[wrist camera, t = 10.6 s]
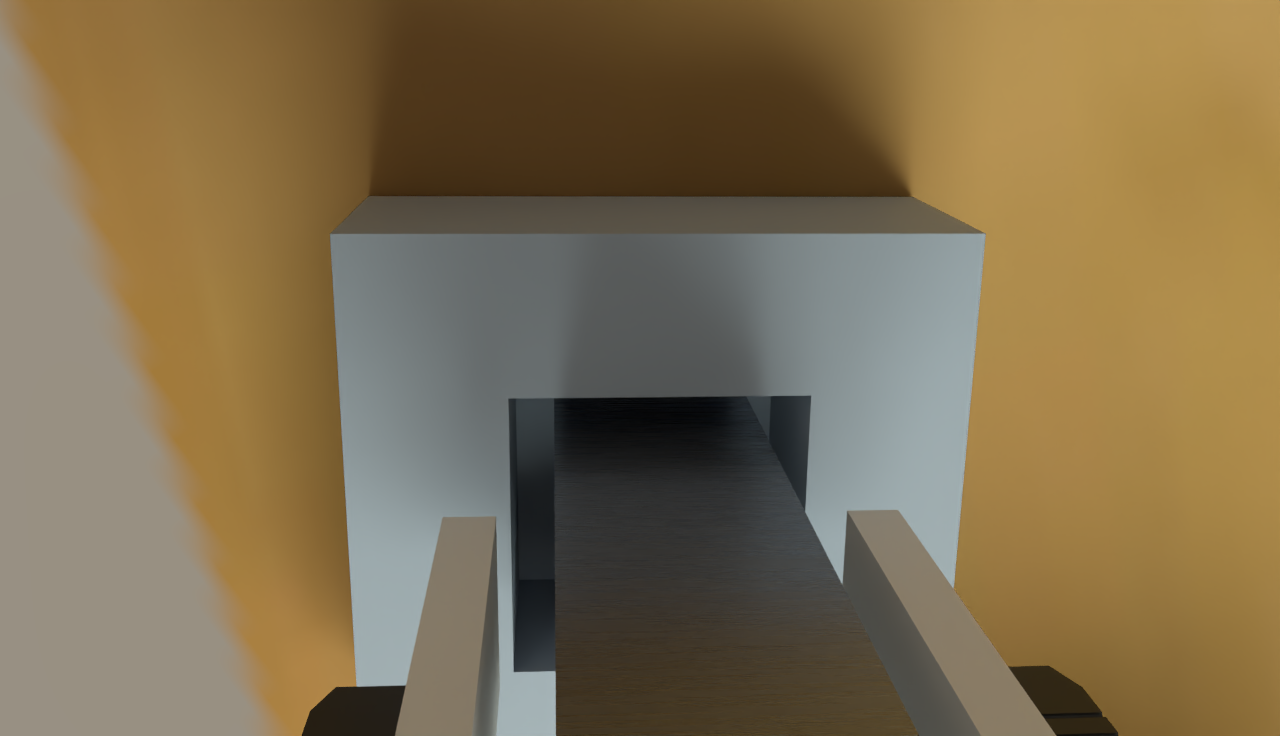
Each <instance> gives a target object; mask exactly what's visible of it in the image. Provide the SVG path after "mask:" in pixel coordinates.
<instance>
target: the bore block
mask: <svg viewBox="0 0 1280 736" xmlns="http://www.w3.org/2000/svg"><path fill="white" fill-rule="evenodd" d="M985 235H986V234H985V233H983V232H981V231H979V230H977V229H975V228H973V227H971V226H969V225H967V224H966V223H964V222H962V221H960V220H958V219H956V218H954V217H952V216H950V215H948V214H946V213H944V212H942V211H940V210H938V209H936V208H934V207H932V206H930V205H928V204H926V203H924V202H922V201H920V200H918V199H916V198H914V197H670V196H368V197H367V198H366V199H365V200H364V201H363V202H362V203H361V204H360V205H359V206H358V207H357V208H356V209H355V210H354V211H353V212H352V213H351V214H350V215H349V216H348V217H347V218H346V219H345V220H344V221H343V222H342V223H341V224H340V225H339V226H338V227H337V228H336V229H335V230H333V231H332V232H331V233H330V243H331V260H332V276H333V293H334V310H335V327H336V344H337V361H338V378H339V395H340V412H341V429H342V446H343V463H344V480H345V497H346V514H347V530H348V547H349V564H350V581H351V598H352V615H353V632H354V649H355V666H356V683H357V687H362V686H401V685H406V683H407V678H408V674H409V669H410V664H411V660H412V655H413V651H414V646H415V641H416V637H417V632H418V628H419V623H420V619H421V614H422V609H423V605H424V600H425V596H426V591H427V586H428V582H429V577H430V573H431V568H432V564H433V559H434V554H435V550H436V545H437V541H438V536H439V531H440V527H441V522H442V518H443V517H487V516H496V534H497V578H498V622H499V666H500V692H499V705H498V718H497V730H496V736H556V666H555V477H554V398H616V397H719V396H746V397H747V399H748V401H749V403H750V405H751V407H752V409H753V411H754V412H755V414H756V416H757V418H758V420H759V422H760V424H761V426H762V428H763V430H764V432H765V434H766V436H767V438H768V440H769V442H770V444H771V446H772V448H773V450H774V452H775V454H776V456H777V458H778V460H779V462H780V463H781V465H782V467H783V469H784V471H785V473H786V475H787V477H788V479H789V481H790V483H791V485H792V487H793V489H794V491H795V493H796V495H797V497H798V499H799V501H800V503H801V505H802V507H803V509H804V511H805V513H806V515H807V516H808V518H809V520H810V522H811V524H812V526H813V528H814V530H815V532H816V534H817V536H818V538H819V540H820V542H821V544H822V546H823V548H824V550H825V552H826V554H827V556H828V558H829V560H830V562H831V564H832V566H833V567H834V569H835V571H836V573H837V575H838V577H839V579H840V581H841V583H842V584H843V568H844V552H845V536H846V520H847V511H853V510H899V512H900V513H901V515H902V516H903V517H904V519H905V520H906V522H907V523H908V525H909V526H910V527H911V529H912V530H913V532H914V533H915V535H916V536H917V537H918V539H919V540H920V542H921V543H922V545H923V546H924V547H925V549H926V550H927V552H928V553H929V555H930V556H931V557H932V559H933V560H934V562H935V563H936V565H937V566H938V567H939V569H940V570H941V572H942V573H943V575H944V576H945V577H946V579H947V580H948V582H949V583H950V585H951V586H952V587H953V589H954V579H955V568H956V557H957V546H958V535H959V524H960V512H961V501H962V490H963V479H964V468H965V457H966V446H967V435H968V424H969V413H970V402H971V390H972V379H973V368H974V357H975V346H976V335H977V324H978V313H979V302H980V291H981V279H982V268H983V257H984V246H985Z"/></svg>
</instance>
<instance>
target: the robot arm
mask: <svg viewBox="0 0 1280 736" xmlns="http://www.w3.org/2000/svg"><path fill="white" fill-rule="evenodd" d="M842 585H843V587H844V589H845V591H846V593H847V595H848V597H849V599H850V601H851V603H852V605H853V607H854V609H855V611H856V613H857V615H858V617H859V618H860V620H861V622H862V624H863V626H864V628H865V630H866V632H867V634H868V636H869V638H870V640H871V642H872V644H873V646H874V648H875V650H876V652H877V654H878V656H879V658H880V660H881V662H882V664H883V666H884V668H885V669H886V671H887V673H888V675H889V677H890V679H891V681H892V683H893V685H894V687H895V689H896V691H897V693H898V695H899V697H900V699H901V701H902V703H903V705H904V707H905V709H906V711H907V713H908V715H909V717H910V719H911V720H912V722H913V724H914V726H915V728H916V730H917V732H918V734H919V736H1118V732H1117V731H1116V729H1115V728H1114V727H1113V726H1112V724H1111V723H1110V722H1109V721H1108V719H1107V718H1106V717H1102V712H1101V710H1100V709H1099V708H1098V707H1097V705H1096V704H1095V703H1094V702H1093V700H1092V699H1091V698H1090V697H1089V695H1088V694H1087V693H1086V691H1085V690H1084V689H1083V688H1082V687H1081V686H1079V685H1078V684H1076V683H1075V682H1073V681H1072V680H1070V679H1069V678H1067V677H1065V676H1064V675H1062V674H1061V673H1059V672H1058V671H1056V670H1054V669H1053V668H1051V667H1050V666H1023V667H1008V666H1007V665H1006V663H1005V662H1004V660H1003V659H1002V657H1001V656H1000V655H999V653H998V652H997V650H996V649H995V647H994V646H993V645H992V643H991V642H990V640H989V639H988V637H987V636H986V635H985V633H984V632H983V630H982V629H981V627H980V626H979V625H978V623H977V622H976V620H975V619H974V617H973V616H972V615H971V613H970V612H969V610H968V609H967V607H966V606H965V605H964V603H963V602H962V600H961V599H960V597H959V596H958V595H957V593H956V592H955V590H954V589H953V587H952V586H951V585H950V583H949V582H948V580H947V579H946V577H945V576H944V575H943V573H942V572H941V570H940V569H939V567H938V566H937V565H936V563H935V562H934V560H933V559H932V557H931V556H930V555H929V553H928V552H927V550H926V549H925V547H924V546H923V545H922V543H921V542H920V540H919V539H918V537H917V536H916V535H915V533H914V532H913V530H912V529H911V527H910V526H909V525H908V523H907V522H906V520H905V519H904V517H903V516H902V515H901V513H900V512H899V510H853V511H847V520H846V536H845V552H844V568H843V584H842ZM499 692H500V666H499V622H498V578H497V534H496V516H487V517H443V518H442V522H441V527H440V531H439V536H438V541H437V545H436V550H435V554H434V559H433V564H432V568H431V573H430V577H429V582H428V586H427V591H426V596H425V600H424V605H423V609H422V614H421V619H420V623H419V628H418V632H417V637H416V641H415V646H414V651H413V655H412V660H411V664H410V669H409V674H408V678H407V683H406V685H401V686H362V687H336V688H335V689H333V690H332V691H331V692H330V693H329V694H328V695H327V696H326V697H325V698H324V699H323V700H322V701H321V702H320V703H318V704H317V705H316V706H315V707H314V708H313V709H312V710H311V711H310V713H309V716H308V719H307V722H306V725H305V727H304V730H303V733H302V736H496V730H497V718H498V705H499Z"/></svg>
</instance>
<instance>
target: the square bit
mask: <svg viewBox="0 0 1280 736" xmlns="http://www.w3.org/2000/svg"><path fill="white" fill-rule="evenodd" d="M554 477H555V666H556V736H919V734H918V732H917V730H916V728H915V726H914V724H913V722H912V720H911V719H910V717H909V715H908V713H907V711H906V709H905V707H904V705H903V703H902V701H901V699H900V697H899V695H898V693H897V691H896V689H895V687H894V685H893V683H892V681H891V679H890V677H889V675H888V673H887V671H886V669H885V668H884V666H883V664H882V662H881V660H880V658H879V656H878V654H877V652H876V650H875V648H874V646H873V644H872V642H871V640H870V638H869V636H868V634H867V632H866V630H865V628H864V626H863V624H862V622H861V620H860V618H859V617H858V615H857V613H856V611H855V609H854V607H853V605H852V603H851V601H850V599H849V597H848V595H847V593H846V591H845V589H844V587H843V585H842V583H841V581H840V579H839V577H838V575H837V573H836V571H835V569H834V567H833V566H832V564H831V562H830V560H829V558H828V556H827V554H826V552H825V550H824V548H823V546H822V544H821V542H820V540H819V538H818V536H817V534H816V532H815V530H814V528H813V526H812V524H811V522H810V520H809V518H808V516H807V515H806V513H805V511H804V509H803V507H802V505H801V503H800V501H799V499H798V497H797V495H796V493H795V491H794V489H793V487H792V485H791V483H790V481H789V479H788V477H787V475H786V473H785V471H784V469H783V467H782V465H781V463H780V462H779V460H778V458H777V456H776V454H775V452H774V450H773V448H772V446H771V444H770V442H769V440H768V438H767V436H766V434H765V432H764V430H763V428H762V426H761V424H760V422H759V420H758V418H757V416H756V414H755V412H754V411H753V409H752V407H751V405H750V403H749V401H748V399H747V397H746V396H719V397H616V398H554Z"/></svg>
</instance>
